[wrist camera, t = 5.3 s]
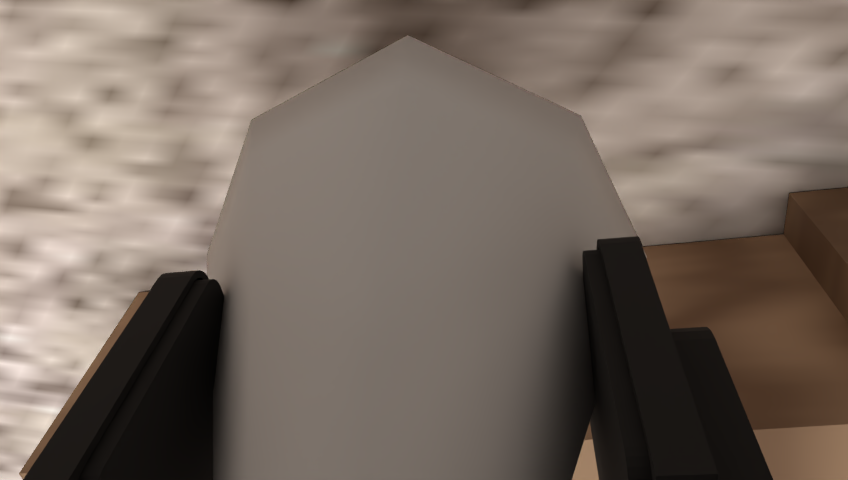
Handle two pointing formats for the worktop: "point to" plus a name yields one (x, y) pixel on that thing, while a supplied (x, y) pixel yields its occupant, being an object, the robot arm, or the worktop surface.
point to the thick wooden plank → (743, 332)
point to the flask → (408, 279)
